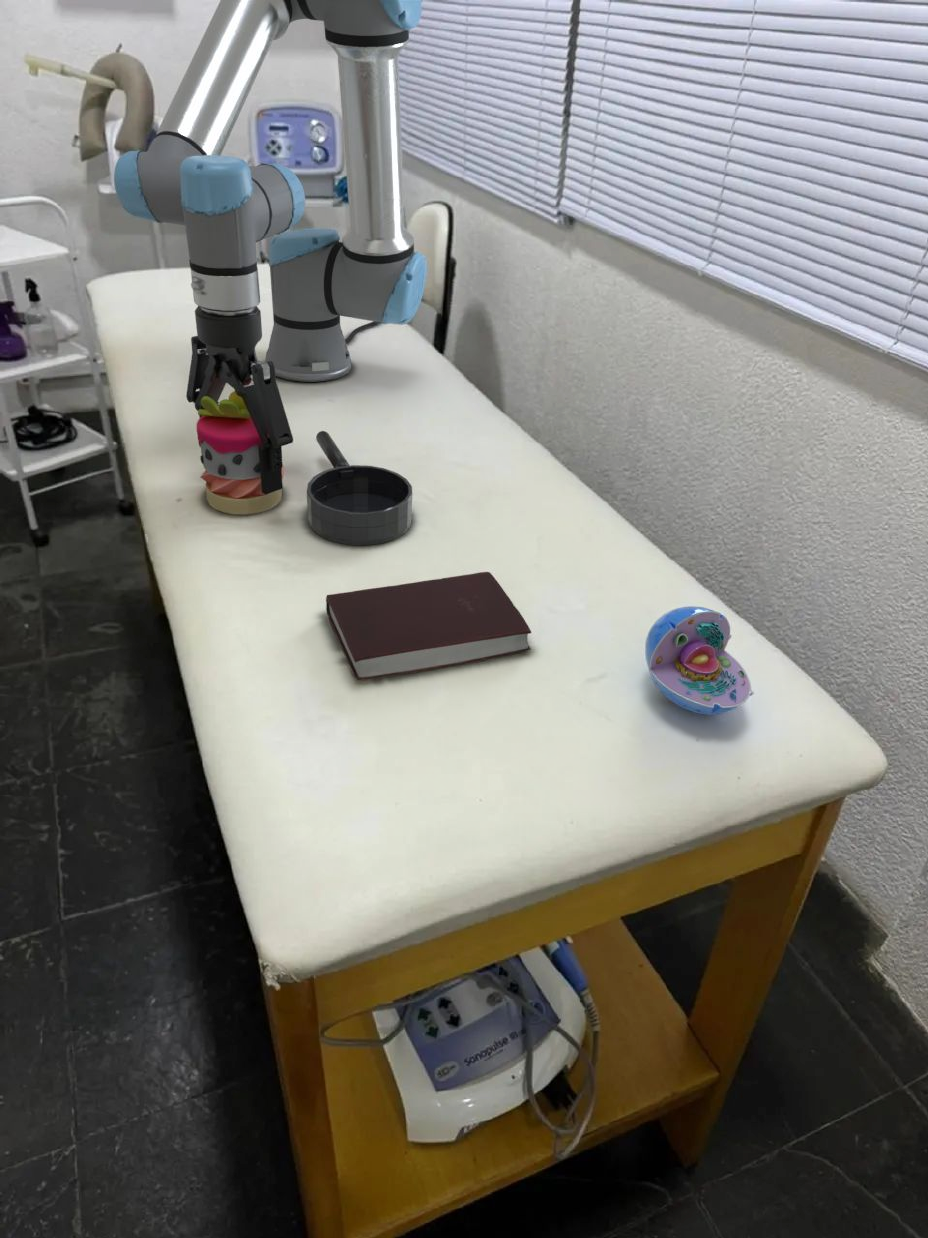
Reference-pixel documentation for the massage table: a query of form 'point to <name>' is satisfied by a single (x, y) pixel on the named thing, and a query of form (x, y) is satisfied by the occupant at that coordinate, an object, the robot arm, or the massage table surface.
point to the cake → (232, 458)
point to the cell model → (696, 661)
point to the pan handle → (333, 454)
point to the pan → (359, 505)
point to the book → (426, 625)
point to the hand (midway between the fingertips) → (242, 473)
